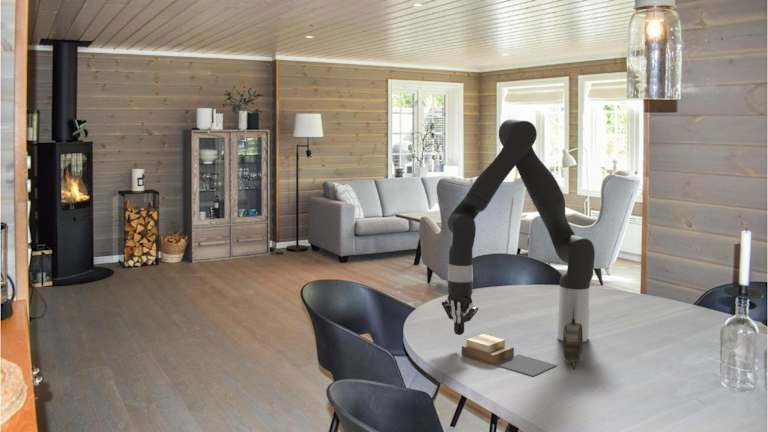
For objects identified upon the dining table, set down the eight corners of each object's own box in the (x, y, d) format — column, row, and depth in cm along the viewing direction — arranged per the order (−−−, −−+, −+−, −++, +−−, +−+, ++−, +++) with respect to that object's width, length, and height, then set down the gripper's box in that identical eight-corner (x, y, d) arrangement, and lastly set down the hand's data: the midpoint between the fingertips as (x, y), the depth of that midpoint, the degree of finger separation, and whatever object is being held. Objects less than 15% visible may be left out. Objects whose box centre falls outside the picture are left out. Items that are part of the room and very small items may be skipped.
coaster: (483, 340, 212) (483, 333, 212) (504, 346, 207) (505, 339, 206) (466, 346, 207) (466, 339, 206) (488, 352, 201) (488, 345, 201)
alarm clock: (579, 371, 194) (582, 314, 192) (559, 369, 196) (561, 312, 194) (582, 359, 204) (585, 305, 202) (563, 357, 206) (565, 303, 204)
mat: (518, 355, 208) (518, 354, 208) (557, 366, 199) (557, 365, 199) (494, 365, 199) (494, 364, 199) (533, 376, 190) (533, 375, 190)
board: (482, 348, 214) (482, 338, 214) (513, 357, 206) (513, 347, 206) (461, 355, 207) (461, 346, 207) (493, 365, 199) (493, 355, 199)
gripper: (485, 280, 209) (483, 336, 211) (451, 273, 218) (450, 327, 221) (469, 284, 204) (468, 341, 206) (435, 276, 213) (434, 332, 215)
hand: (458, 334), depth 213 cm, fingers closed
